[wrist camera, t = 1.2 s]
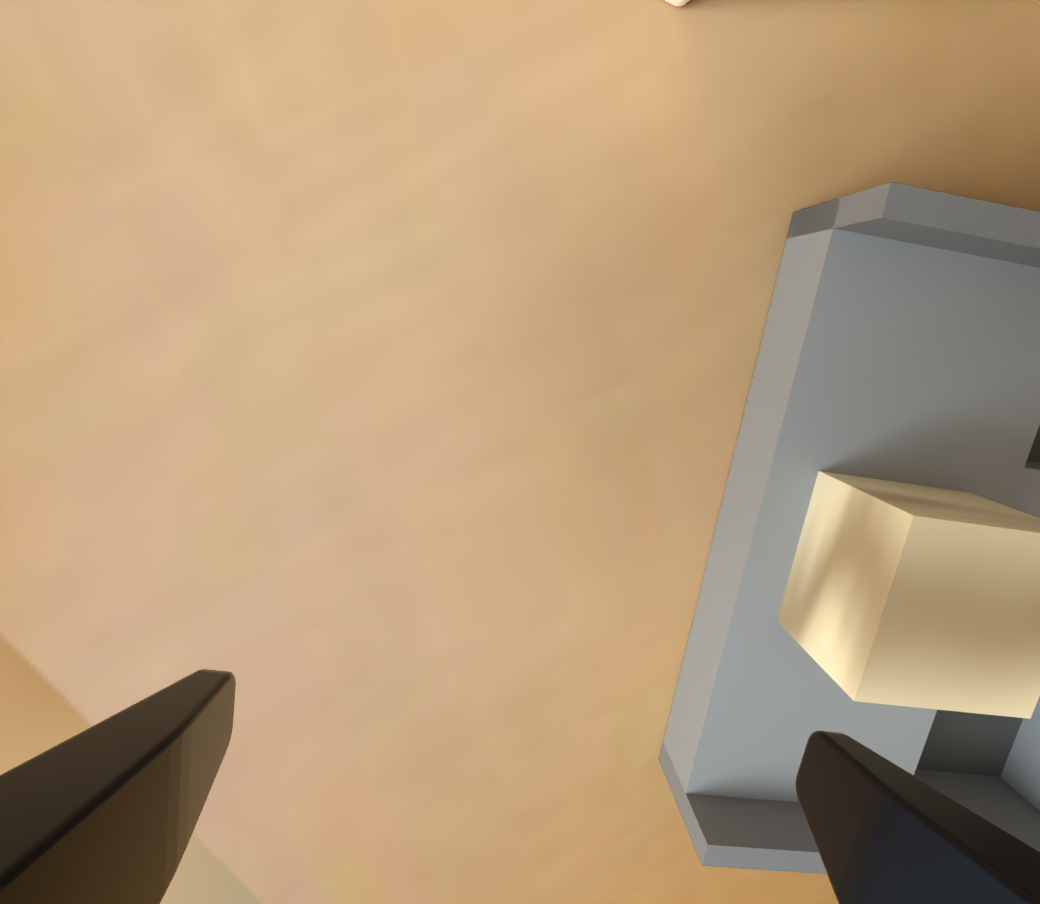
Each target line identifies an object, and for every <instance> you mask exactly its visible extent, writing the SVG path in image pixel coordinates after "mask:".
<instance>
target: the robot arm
mask: <svg viewBox="0 0 1040 904" xmlns="http://www.w3.org/2000/svg"><path fill="white" fill-rule="evenodd" d="M235 685H236V681H235V677H234V675H233V674H232V673H231V672H226V671H216V670H206V669H202V670H199V671H196V672H194V673H192V674H191V675H189V676H187V677H185V678H183V679H181V680H179V681H177V682H175V683H174V684H172V685H170V686H168V687H166V688H164V689H162V690H160V691H158V692H157V693H155V694H153V695H151V696H149V697H147V698H145V699H143V700H141V701H140V702H138V703H136V704H134V705H132V706H130V707H128V708H126V709H124V710H123V711H121V712H119V713H117V714H115V715H113V716H111V717H109V718H107V719H105V720H104V721H102V722H100V723H98V724H96V725H94V726H92V727H90V728H88V729H87V730H85V731H83V732H81V733H79V734H77V735H75V736H73V737H71V738H70V739H68V740H66V741H64V742H62V743H60V744H58V745H57V746H54V747H53V748H51V749H49V750H47V751H45V752H43V753H41V754H39V755H37V756H36V757H34V758H32V759H30V760H28V761H26V762H24V763H22V764H21V765H19V766H17V767H15V768H13V769H11V770H9V771H7V772H5V773H4V774H2V775H0V904H160V902H161V900H162V898H163V896H164V894H165V892H166V890H167V888H168V886H169V884H170V882H171V880H172V878H173V876H174V874H175V872H176V870H177V868H178V866H179V863H180V861H181V859H182V857H183V854H184V852H185V850H186V847H187V845H188V842H189V840H190V837H191V835H192V833H193V830H194V828H195V825H196V823H197V821H198V818H199V816H200V813H201V811H202V808H203V806H204V804H205V801H206V799H207V796H208V794H209V792H210V789H211V787H212V784H213V782H214V779H215V777H216V775H217V772H218V770H219V767H220V765H221V763H222V760H223V758H224V755H225V753H226V750H227V748H228V745H229V742H230V738H231V734H232V728H233V715H234V700H235ZM795 785H796V793H797V797H798V800H799V803H800V805H801V808H802V810H803V813H804V816H805V818H806V821H807V823H808V826H809V828H810V831H811V834H812V836H813V839H814V841H815V844H816V846H817V849H818V852H819V854H820V857H821V859H822V862H823V864H824V867H825V869H826V872H827V875H828V877H829V880H830V882H831V885H832V887H833V890H834V893H835V895H836V897H837V900H838V902H839V904H1040V852H1039V851H1038V850H1036V849H1034V848H1033V847H1031V846H1029V845H1028V844H1026V843H1024V842H1023V841H1021V840H1020V839H1018V838H1016V837H1015V836H1013V835H1011V834H1010V833H1008V832H1006V831H1005V830H1003V829H1001V828H1000V827H998V826H996V825H995V824H993V823H991V822H990V821H988V820H986V819H985V818H983V817H982V816H980V815H978V814H977V813H975V812H973V811H972V810H970V809H968V808H967V807H965V806H963V805H962V804H960V803H958V802H957V801H955V800H953V799H952V798H950V797H948V796H947V795H945V794H943V793H942V792H940V791H939V790H937V789H935V788H934V787H932V786H930V785H929V784H927V783H925V782H924V781H922V780H920V779H919V778H917V777H915V776H914V775H912V774H910V773H909V772H907V771H905V770H904V769H902V768H900V767H899V766H897V765H896V764H894V763H892V762H891V761H889V760H887V759H886V758H884V757H882V756H881V755H879V754H877V753H876V752H874V751H872V750H871V749H869V748H867V747H866V746H864V745H862V744H861V743H859V742H857V741H856V740H854V739H853V738H851V737H849V736H848V735H846V734H843V733H840V732H830V731H819V730H818V731H815V732H813V733H812V734H811V735H810V736H809V738H808V741H807V744H806V747H805V751H804V754H803V757H802V760H801V763H800V766H799V769H798V773H797V776H796V784H795Z"/></svg>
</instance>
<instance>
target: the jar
mask: <svg viewBox="0 0 1040 904" xmlns="http://www.w3.org/2000/svg"><path fill="white" fill-rule="evenodd" d="M664 1H666V2H668V3H670V4H672V5H674V6H677V7H681V6H683V5H685V4H686V3H687V2H688V1H690V0H664Z"/></svg>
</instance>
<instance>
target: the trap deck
mask: <svg viewBox="0 0 1040 904" xmlns="http://www.w3.org/2000/svg"><path fill="white" fill-rule="evenodd" d="M818 471H824V472H831V473H838V474H845V475H852V476H859V477H866V478H873V479H879V480H886V481H893V482H900V483H907V484H914V485H921V486H928V487H935V488H942V489H949V490H956V491H963V492H970V493H972V494H975V495H978V496H981V497H983V498H986V499H989V500H991V501H994V502H997V503H999V504H1002V505H1005V506H1007V507H1010V508H1013V509H1015V510H1018V511H1021V512H1024V513H1026V514H1029V515H1032V516H1034V517H1037V518H1040V212H1038V211H1033V210H1028V209H1023V208H1018V207H1013V206H1008V205H1003V204H998V203H993V202H988V201H983V200H978V199H973V198H968V197H963V196H958V195H953V194H948V193H943V192H938V191H933V190H928V189H923V188H918V187H913V186H908V185H904V184H899V183H894V182H890V183H887V184H883V185H880V186H877V187H874V188H870V189H867V190H864V191H860V192H857V193H854V194H851V195H847V196H844V197H841V198H837V199H834V200H831V201H828V202H824V203H821V204H818V205H814V206H811V207H808V208H805V209H801V210H798V211H795V212H793V215H792V219H791V223H790V227H789V231H788V235H787V239H786V244H785V248H784V252H783V256H782V260H781V264H780V268H779V272H778V276H777V280H776V284H775V288H774V292H773V296H772V301H771V305H770V309H769V313H768V317H767V321H766V325H765V329H764V333H763V337H762V341H761V345H760V349H759V353H758V358H757V362H756V366H755V370H754V374H753V378H752V382H751V386H750V390H749V394H748V398H747V402H746V406H745V410H744V415H743V419H742V423H741V427H740V431H739V435H738V439H737V443H736V447H735V451H734V455H733V459H732V463H731V467H730V472H729V476H728V480H727V484H726V488H725V492H724V496H723V500H722V504H721V508H720V512H719V516H718V520H717V524H716V529H715V533H714V537H713V541H712V545H711V549H710V553H709V557H708V561H707V565H706V569H705V573H704V577H703V581H702V586H701V590H700V594H699V598H698V602H697V606H696V610H695V614H694V618H693V622H692V626H691V630H690V634H689V638H688V643H687V647H686V651H685V655H684V659H683V663H682V667H681V671H680V675H679V679H678V683H677V687H676V691H675V695H674V700H673V704H672V708H671V712H670V716H669V720H668V724H667V728H666V732H665V736H664V740H663V744H662V748H661V752H660V757H659V761H660V764H661V766H662V769H663V771H664V774H665V776H666V779H667V781H668V784H669V786H670V788H671V791H672V793H673V796H674V798H675V801H676V803H677V806H678V808H679V811H680V813H681V816H682V818H683V820H684V823H685V825H686V828H687V830H688V833H689V835H690V838H691V840H692V843H693V845H694V848H695V850H696V852H697V855H698V857H699V860H700V862H701V865H702V866H712V867H727V868H742V869H757V870H772V871H788V872H803V873H818V874H827V872H826V869H825V867H824V864H823V862H822V859H821V857H820V854H819V852H818V849H817V846H816V844H815V841H814V839H813V836H812V834H811V831H810V828H809V826H808V823H807V821H806V818H805V816H804V813H803V810H802V808H801V805H800V803H799V800H798V797H797V793H796V785H795V784H796V776H797V773H798V769H799V766H800V763H801V760H802V757H803V754H804V751H805V747H806V744H807V741H808V738H809V736H810V735H811V734H812V733H813V732H815V731H818V730H819V731H830V732H840V733H843V734H846V735H848V736H849V737H851V738H853V739H854V740H856V741H857V742H859V743H861V744H862V745H864V746H866V747H867V748H869V749H871V750H872V751H874V752H876V753H877V754H879V755H881V756H882V757H884V758H886V759H887V760H889V761H891V762H892V763H894V764H896V765H897V766H899V767H900V768H902V769H904V770H905V771H907V772H909V773H910V774H912V775H914V776H915V777H917V778H919V779H920V780H922V781H924V782H925V783H927V784H929V785H930V786H932V787H934V788H935V789H937V790H939V791H940V792H942V793H943V794H945V795H947V796H948V797H950V798H952V799H953V800H955V801H957V802H958V803H960V804H962V805H963V806H965V807H967V808H968V809H970V810H972V811H973V812H975V813H977V814H978V815H980V816H982V817H983V818H985V819H986V820H988V821H990V822H991V823H993V824H995V825H996V826H998V827H1000V828H1001V829H1003V830H1005V831H1006V832H1008V833H1010V834H1011V835H1013V836H1015V837H1016V838H1018V839H1020V840H1021V841H1023V842H1024V843H1026V844H1028V845H1029V846H1031V847H1033V848H1034V849H1036V850H1038V851H1039V852H1040V696H1039V699H1038V701H1037V704H1036V706H1035V709H1034V711H1033V714H1032V716H1031V719H1027V718H1017V717H1007V716H997V715H987V714H977V713H967V712H957V711H947V710H937V709H927V708H917V707H907V706H897V705H887V704H877V703H867V702H857V701H853V700H852V699H851V698H850V697H849V696H848V695H847V693H846V692H845V691H844V690H843V689H842V688H841V687H840V686H839V685H838V684H837V683H836V682H835V681H834V680H833V679H832V678H831V677H830V676H829V675H828V674H827V673H826V672H825V671H824V670H823V669H822V668H821V667H820V665H819V664H818V663H817V662H816V661H815V660H814V659H813V658H812V657H811V656H810V655H809V654H808V653H807V652H806V651H805V650H804V649H803V648H802V647H801V646H800V645H799V644H798V643H797V642H796V641H795V640H794V638H793V637H792V636H791V635H790V634H789V633H788V632H787V631H786V630H785V629H784V628H783V627H782V626H781V625H780V624H779V623H778V622H777V618H778V614H779V610H780V607H781V603H782V600H783V596H784V593H785V589H786V585H787V582H788V578H789V575H790V571H791V568H792V564H793V560H794V557H795V553H796V550H797V546H798V543H799V539H800V535H801V532H802V528H803V525H804V521H805V518H806V514H807V510H808V507H809V503H810V500H811V496H812V493H813V489H814V485H815V482H816V478H817V475H818Z"/></svg>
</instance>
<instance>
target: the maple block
mask: <svg viewBox="0 0 1040 904" xmlns="http://www.w3.org/2000/svg"><path fill="white" fill-rule="evenodd" d="M777 622H778V623H779V624H780V625H781V626H782V627H783V628H784V629H785V630H786V631H787V632H788V633H789V634H790V635H791V636H792V637H793V638H794V640H795V641H796V642H797V643H798V644H799V645H800V646H801V647H802V648H803V649H804V650H805V651H806V652H807V653H808V654H809V655H810V656H811V657H812V658H813V659H814V660H815V661H816V662H817V663H818V664H819V665H820V667H821V668H822V669H823V670H824V671H825V672H826V673H827V674H828V675H829V676H830V677H831V678H832V679H833V680H834V681H835V682H836V683H837V684H838V685H839V686H840V687H841V688H842V689H843V690H844V691H845V692H846V693H847V695H848V696H849V697H850V698H851V699H852V700H853V701H857V702H867V703H877V704H887V705H897V706H907V707H917V708H927V709H937V710H947V711H957V712H967V713H977V714H987V715H997V716H1007V717H1017V718H1027V719H1031V716H1032V714H1033V711H1034V709H1035V706H1036V704H1037V701H1038V699H1039V696H1040V518H1037V517H1034V516H1032V515H1029V514H1026V513H1024V512H1021V511H1018V510H1015V509H1013V508H1010V507H1007V506H1005V505H1002V504H999V503H997V502H994V501H991V500H989V499H986V498H983V497H981V496H978V495H975V494H972V493H970V492H963V491H956V490H949V489H942V488H935V487H928V486H921V485H914V484H907V483H900V482H893V481H886V480H879V479H873V478H866V477H859V476H852V475H845V474H838V473H831V472H824V471H818V475H817V478H816V482H815V485H814V489H813V493H812V496H811V500H810V503H809V507H808V510H807V514H806V518H805V521H804V525H803V528H802V532H801V535H800V539H799V543H798V546H797V550H796V553H795V557H794V560H793V564H792V568H791V571H790V575H789V578H788V582H787V585H786V589H785V593H784V596H783V600H782V603H781V607H780V610H779V614H778V618H777Z"/></svg>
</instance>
